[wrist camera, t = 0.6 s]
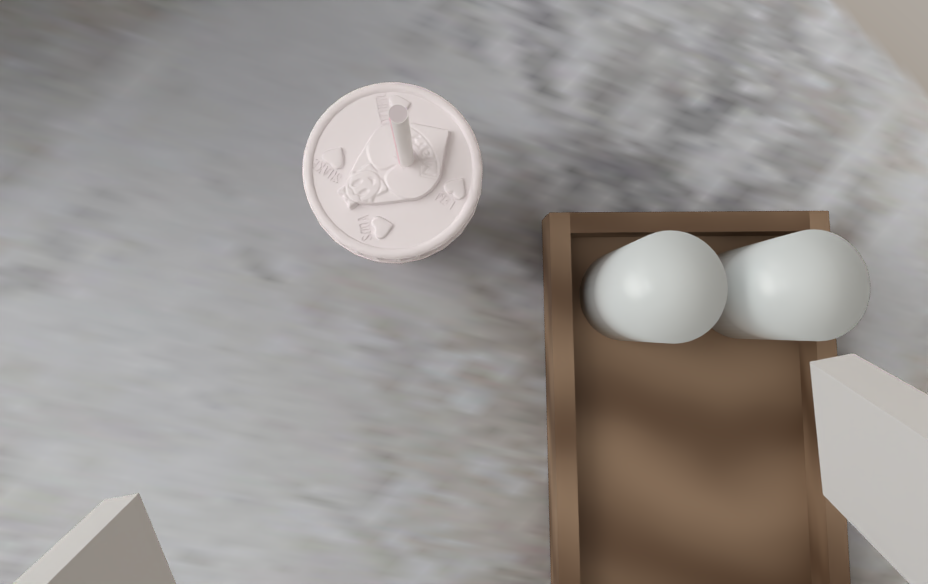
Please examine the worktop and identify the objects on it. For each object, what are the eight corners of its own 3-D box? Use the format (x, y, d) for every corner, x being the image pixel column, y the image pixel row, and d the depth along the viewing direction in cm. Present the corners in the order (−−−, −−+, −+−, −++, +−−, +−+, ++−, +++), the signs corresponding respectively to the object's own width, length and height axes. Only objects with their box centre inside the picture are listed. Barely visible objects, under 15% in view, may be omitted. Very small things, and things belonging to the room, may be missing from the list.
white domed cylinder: (693, 249, 30) (758, 229, 24) (780, 249, 30) (867, 229, 24) (697, 339, 29) (764, 342, 23) (785, 338, 30) (873, 340, 24)
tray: (542, 220, 30) (549, 212, 28) (803, 218, 31) (828, 210, 29) (552, 618, 29) (560, 640, 27) (824, 607, 29) (853, 628, 27)
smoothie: (493, 238, 30) (543, 157, 16) (389, 307, 29) (347, 287, 15) (423, 136, 30) (412, -32, 16) (319, 204, 30) (214, 91, 16)
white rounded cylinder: (577, 250, 29) (614, 230, 23) (666, 250, 30) (725, 229, 24) (580, 341, 29) (618, 344, 23) (670, 340, 29) (730, 342, 23)
